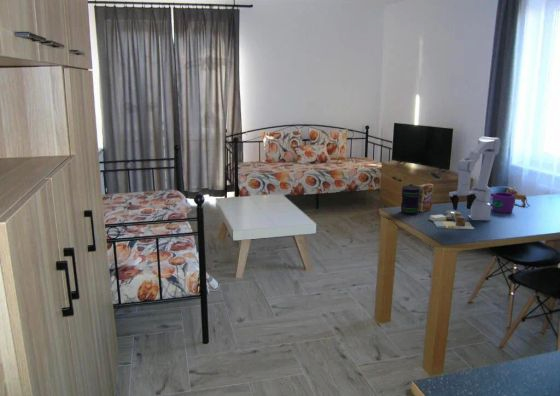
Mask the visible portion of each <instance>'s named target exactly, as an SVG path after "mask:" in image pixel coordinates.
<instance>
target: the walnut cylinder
mask: <svg viewBox="0 0 560 396" xmlns="http://www.w3.org/2000/svg"><path fill="white" fill-rule="evenodd" d="M465 222H466V217H465V216H462V215H461V216H457V217H456V225H457V226H465Z"/></svg>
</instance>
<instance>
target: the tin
mask: <svg viewBox="0 0 560 396" xmlns="http://www.w3.org/2000/svg"><path fill="white" fill-rule="evenodd" d="M455 212H457V210H446V211H445V215H444V216H446V220H449V221H454V220H455Z"/></svg>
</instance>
